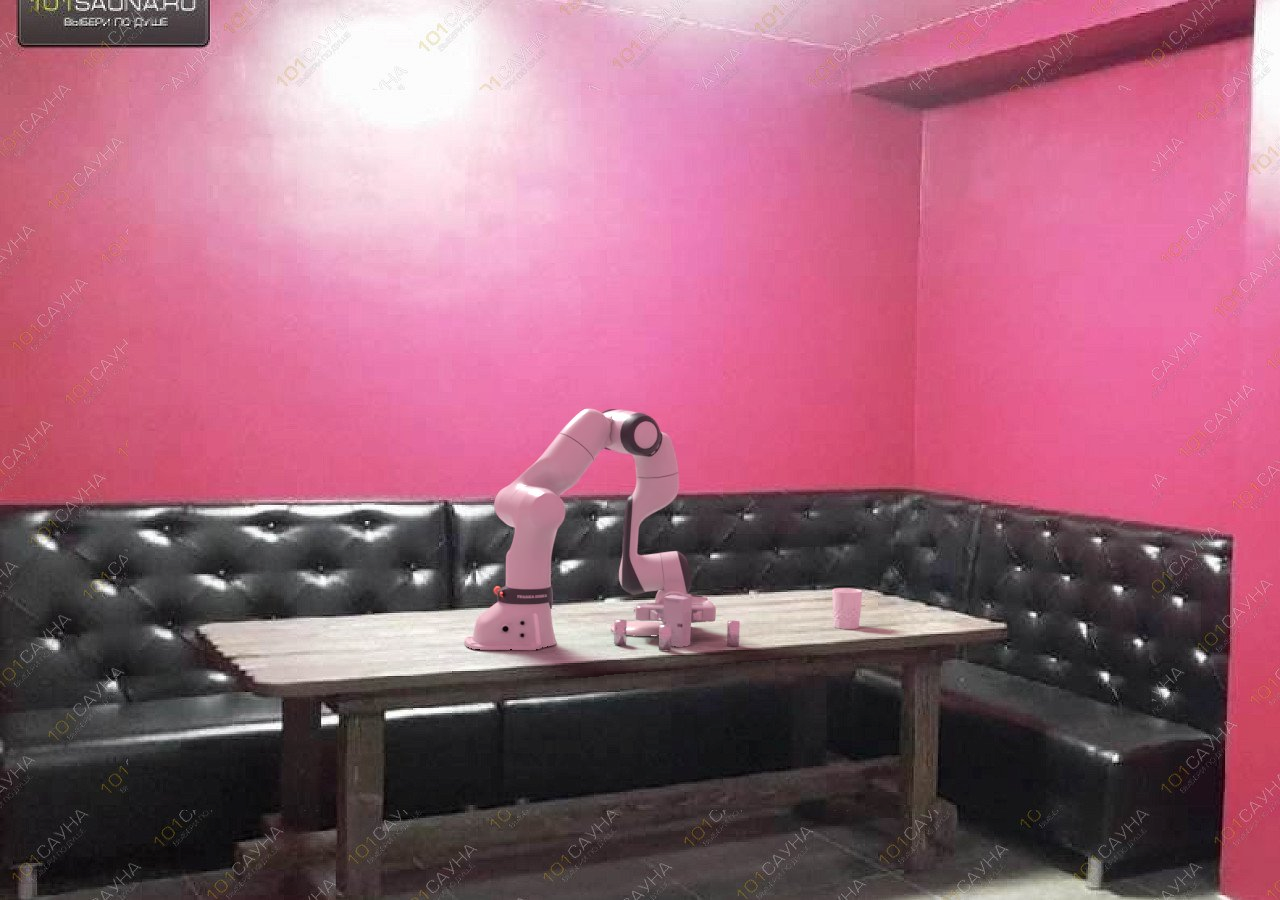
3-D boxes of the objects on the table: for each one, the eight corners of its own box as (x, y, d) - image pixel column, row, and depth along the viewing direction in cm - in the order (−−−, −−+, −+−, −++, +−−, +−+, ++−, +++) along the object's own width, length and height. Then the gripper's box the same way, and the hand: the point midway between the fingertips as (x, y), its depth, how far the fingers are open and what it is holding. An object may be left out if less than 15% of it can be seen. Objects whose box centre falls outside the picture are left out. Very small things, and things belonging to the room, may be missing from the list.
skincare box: (661, 645, 339) (661, 596, 338) (670, 642, 343) (671, 594, 342) (682, 648, 335) (683, 599, 335) (691, 645, 339) (692, 596, 339)
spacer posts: (623, 652, 329) (623, 627, 328) (612, 643, 340) (613, 619, 339) (744, 648, 336) (744, 624, 336) (729, 640, 347) (730, 616, 347)
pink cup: (840, 630, 363) (841, 593, 362) (826, 625, 370) (826, 588, 370) (866, 629, 366) (867, 591, 365) (851, 624, 373) (852, 587, 373)
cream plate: (618, 637, 348) (618, 632, 348) (604, 626, 363) (604, 622, 363) (679, 635, 352) (679, 631, 352) (663, 624, 367) (663, 620, 367)
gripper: (633, 595, 352) (635, 604, 338) (713, 596, 352) (717, 605, 338) (633, 620, 352) (634, 629, 338) (712, 621, 353) (717, 630, 339)
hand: (677, 617), depth 338 cm, fingers open, 8 cm apart
